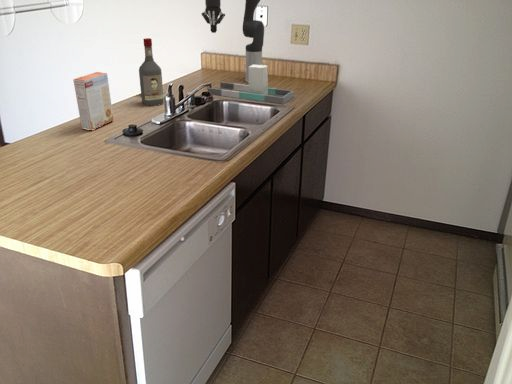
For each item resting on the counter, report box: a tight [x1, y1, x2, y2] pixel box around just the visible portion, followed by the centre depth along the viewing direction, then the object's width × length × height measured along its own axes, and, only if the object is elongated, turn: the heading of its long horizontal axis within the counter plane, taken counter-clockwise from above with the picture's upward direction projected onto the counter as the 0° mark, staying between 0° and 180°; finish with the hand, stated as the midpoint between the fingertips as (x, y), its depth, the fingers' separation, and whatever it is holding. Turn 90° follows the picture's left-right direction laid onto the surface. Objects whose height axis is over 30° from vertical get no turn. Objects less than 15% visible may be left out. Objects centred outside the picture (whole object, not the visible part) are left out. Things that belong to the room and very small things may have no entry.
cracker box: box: [73, 71, 114, 129], centre depth 193 cm, size 14×6×21 cm, turn 157°
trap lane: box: [207, 81, 295, 105], centre depth 244 cm, size 15×42×3 cm, turn 66°
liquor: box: [138, 37, 165, 106], centre depth 222 cm, size 9×9×30 cm
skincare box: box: [248, 64, 269, 95], centre depth 239 cm, size 8×7×16 cm
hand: (213, 32), depth 243 cm, fingers closed
